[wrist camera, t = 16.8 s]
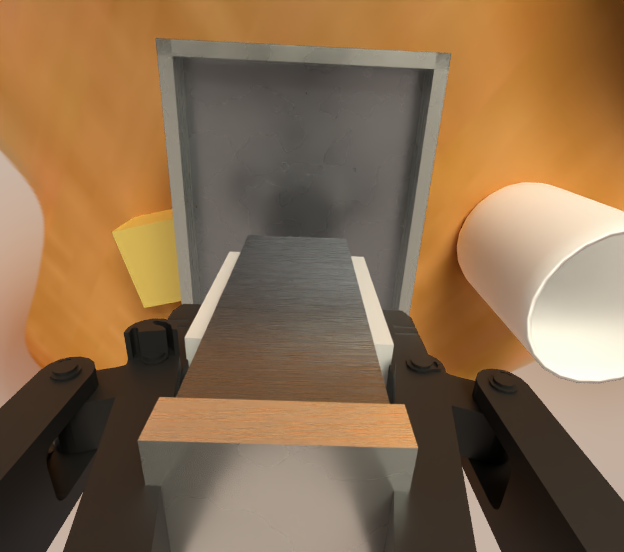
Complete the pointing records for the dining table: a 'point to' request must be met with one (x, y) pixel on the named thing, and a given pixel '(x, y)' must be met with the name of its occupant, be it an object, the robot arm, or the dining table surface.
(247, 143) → the grey open rectangular container
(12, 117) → the dining table surface
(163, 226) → the block
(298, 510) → the grey tall block
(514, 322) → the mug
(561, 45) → the dining table surface
